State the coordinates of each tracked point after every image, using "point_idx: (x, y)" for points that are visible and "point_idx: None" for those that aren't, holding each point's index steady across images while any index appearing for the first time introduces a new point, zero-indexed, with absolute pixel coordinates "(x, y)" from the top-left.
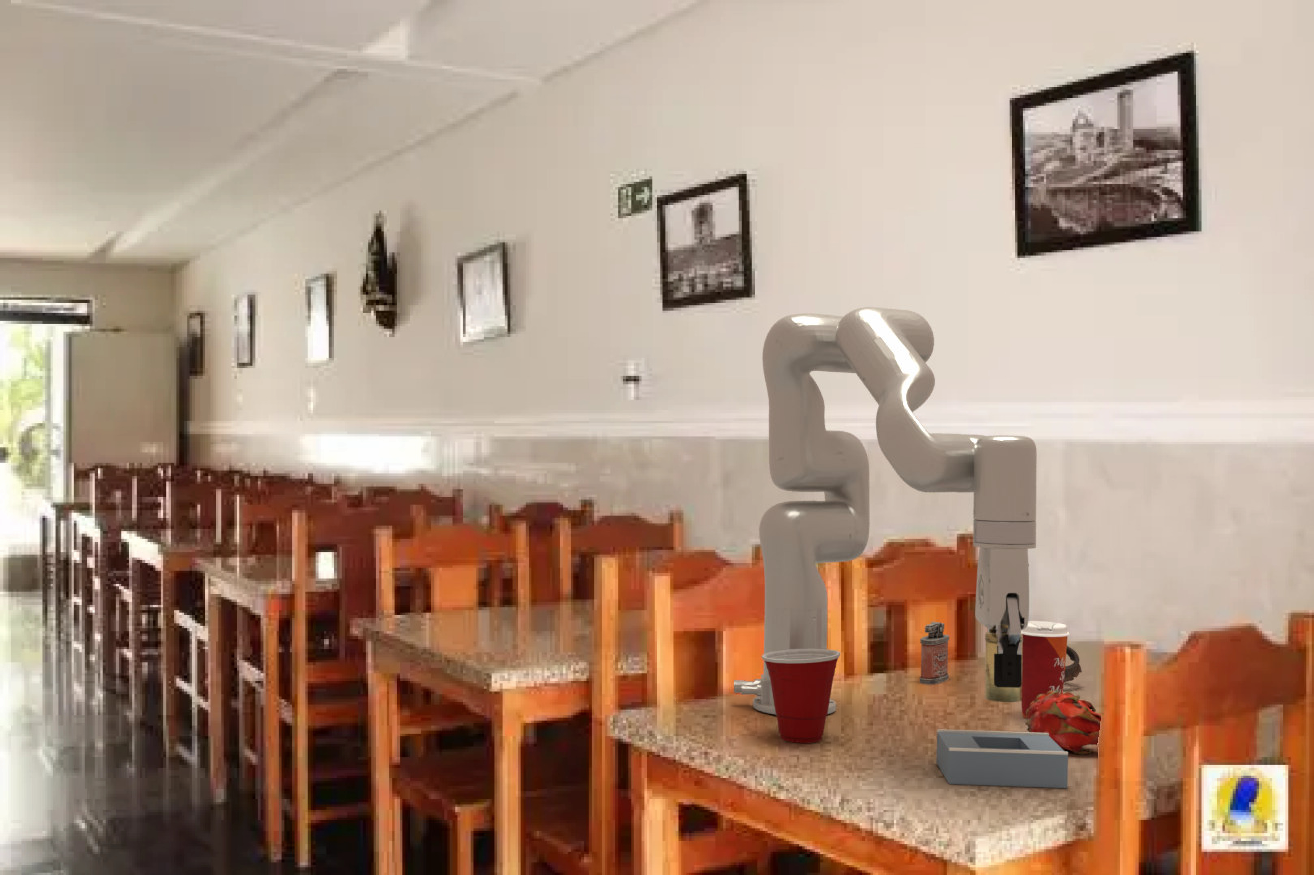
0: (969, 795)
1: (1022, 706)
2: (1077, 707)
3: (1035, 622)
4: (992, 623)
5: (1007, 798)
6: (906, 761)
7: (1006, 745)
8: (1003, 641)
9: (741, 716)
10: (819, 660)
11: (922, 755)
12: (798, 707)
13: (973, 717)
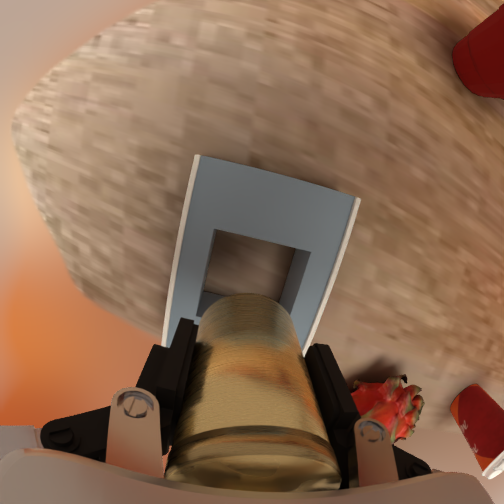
0: (141, 167)
1: (479, 389)
2: None
3: None
4: (2, 458)
5: (123, 220)
6: (356, 145)
7: (288, 307)
8: (59, 424)
9: None
10: None
11: (386, 191)
12: (477, 30)
13: (496, 337)
